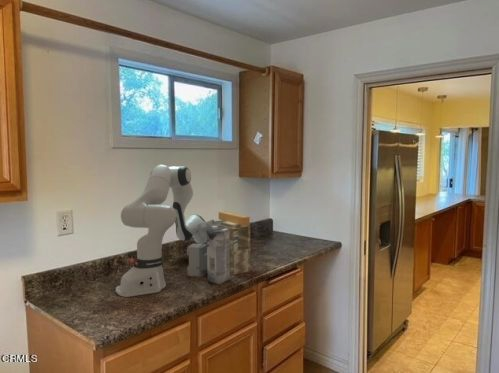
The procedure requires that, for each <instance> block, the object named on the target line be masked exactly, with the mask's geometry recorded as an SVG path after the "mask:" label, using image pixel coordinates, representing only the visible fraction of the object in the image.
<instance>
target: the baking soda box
mask: <svg viewBox="0 0 499 373" xmlns="http://www.w3.org/2000/svg"><path fill="white" fill-rule="evenodd" d="M237 250H238V231H237V228H234V251H237Z"/></svg>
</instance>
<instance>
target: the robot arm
mask: <svg viewBox="0 0 499 373" xmlns="http://www.w3.org/2000/svg"><path fill="white" fill-rule="evenodd" d="M191 173H192V172H191V171H190V169H189V168H188V167H187V166H183V165H180V166H168V165H165V164H159V165H156V166H155V167H154V168H153V169H152V171H151V172H150V174H149V177H148V180H147V182H146V185H145V188H144V189H143V191H142V193H141V195H139V197H137V199H135V200H134V201H132V202H131V203H129V204H127V205H125V206H123V208H122V210H121V212H120V220H121V222H122V223H123V225H124V226H126V227H130V228H135V229H136V228H138V229H141V228H142V229H145V228H146V229H148V231H147V233H146V234H145V235H143V236H141V237H140V238H138V241H137V243H136V252H137V253H136V256H137V257H136V258H135V259H134V258H133V257H132V258H130V259H129V263H130V264H133V266H132V267H131V268H130V269H128V270H127V272H125V273H124V274H123V275H122V276H121V279H120V285H117V286H116V287H115V293H116V294H117V295H119V296H120V297H124V298H129V297H136V296H142V295H143V296H144V295H150V294H155V293H159V292H161V291H162V290H163V289H164V288H165V287H166V286H167V283H166V281H165V276H164V270H163V269H164V258H163V257H164V256H163V255H162V254H163V252H162V249H163V248H162V247H163V238H164V235H165V234H166V233H167V231H168V230H169V229H170V228H171V227H172V226H174V224H175V234H176V237H177V238H178V240H180V241H182V242H189V241H190V240H192V238H193V240H194V242H195V243H196V244H205V243H207V232H206V231H207V230H211V229H212V226H218V227H219V228H221V222H227V221H223V220H220V219H217V220H214V219H210V220H208V221H205V219H204V218H203V216H202V215H199V214H195V213H194V214H191V215H190V216H188V218H186V217H185V212H186V209H187V206H188V204H189V203H190V202H191V200H192V198H193V196H194V193H193V191H194V190H193V187H192V184H191V181H192V180H191V179H192V174H191ZM170 188H171V191H172V196H173V201H172V205H168V204H163V203H164V202H165V201H166V200H167V199H168V198H167V197H168V195H169V191H170ZM185 218H186V219H185Z"/></svg>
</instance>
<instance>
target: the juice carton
mask: <svg viewBox="0 0 499 373" xmlns="http://www.w3.org/2000/svg"><path fill="white" fill-rule="evenodd" d="M206 232H207V241H206V244H207V273H206V275H207V282H208V283H211V284H214V285H221V284H223V283H225V282H227V281H230V277H231V275H230V246H229V233H230V229H227V228H219V227H218V226H212V229H211V230H207V231H206Z"/></svg>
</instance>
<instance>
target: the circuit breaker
mask: <svg viewBox="0 0 499 373" xmlns="http://www.w3.org/2000/svg"><path fill="white" fill-rule="evenodd" d="M186 255H187V256H188V266H187V270H186V271H187V276H189V277H204V276H205V275H207V243H191V244H190V245H188V246H187V249H186Z"/></svg>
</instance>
